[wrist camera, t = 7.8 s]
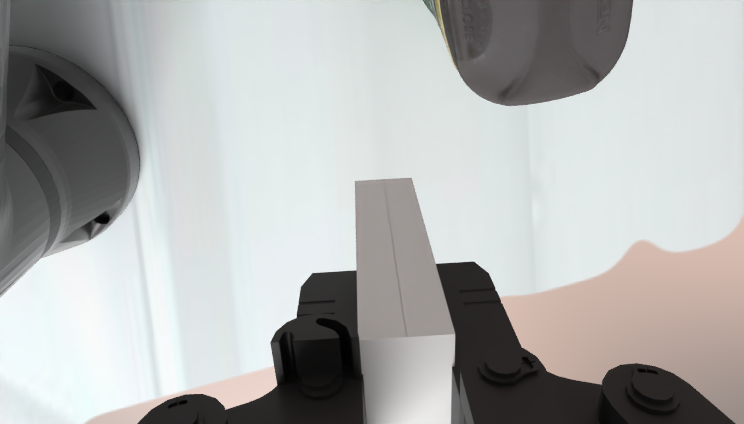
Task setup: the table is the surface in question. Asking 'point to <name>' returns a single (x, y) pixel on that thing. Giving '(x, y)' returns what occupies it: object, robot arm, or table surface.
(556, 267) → the table surface
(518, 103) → the coffee jar
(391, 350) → the robot arm
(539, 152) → the table surface
